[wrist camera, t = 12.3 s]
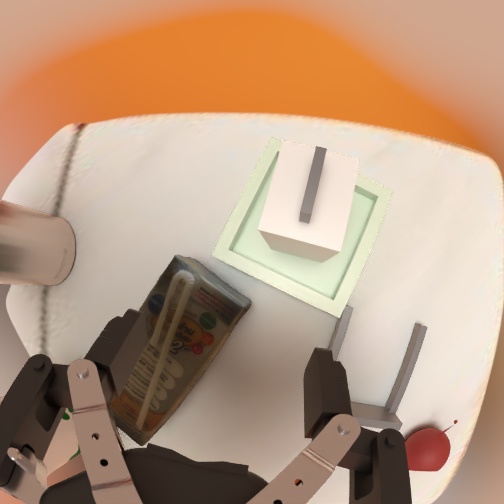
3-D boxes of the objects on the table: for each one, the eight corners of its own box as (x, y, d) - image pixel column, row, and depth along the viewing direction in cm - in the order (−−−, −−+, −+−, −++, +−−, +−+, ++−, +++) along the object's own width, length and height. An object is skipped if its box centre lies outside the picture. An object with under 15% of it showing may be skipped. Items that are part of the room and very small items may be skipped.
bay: (310, 399, 27) (312, 416, 23) (342, 304, 27) (350, 308, 23) (388, 414, 25) (399, 430, 21) (421, 325, 26) (438, 330, 22)
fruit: (436, 428, 26) (476, 421, 19) (425, 469, 23) (465, 471, 16) (398, 423, 27) (436, 417, 20) (386, 467, 24) (423, 472, 17)
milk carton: (120, 388, 30) (-6, 452, 10) (116, 443, 29) (18, 515, 9) (68, 361, 31) (-53, 393, 11) (67, 414, 30) (-34, 461, 11)
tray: (217, 257, 30) (211, 255, 27) (273, 147, 30) (271, 136, 27) (335, 315, 27) (339, 318, 25) (385, 198, 28) (393, 191, 25)
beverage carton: (257, 302, 29) (247, 308, 22) (164, 427, 29) (139, 453, 22) (195, 256, 30) (169, 249, 24) (114, 384, 30) (82, 401, 24)
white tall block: (271, 249, 28) (252, 221, 15) (287, 189, 28) (281, 119, 15) (321, 263, 27) (348, 246, 14) (336, 202, 28) (368, 140, 14)
